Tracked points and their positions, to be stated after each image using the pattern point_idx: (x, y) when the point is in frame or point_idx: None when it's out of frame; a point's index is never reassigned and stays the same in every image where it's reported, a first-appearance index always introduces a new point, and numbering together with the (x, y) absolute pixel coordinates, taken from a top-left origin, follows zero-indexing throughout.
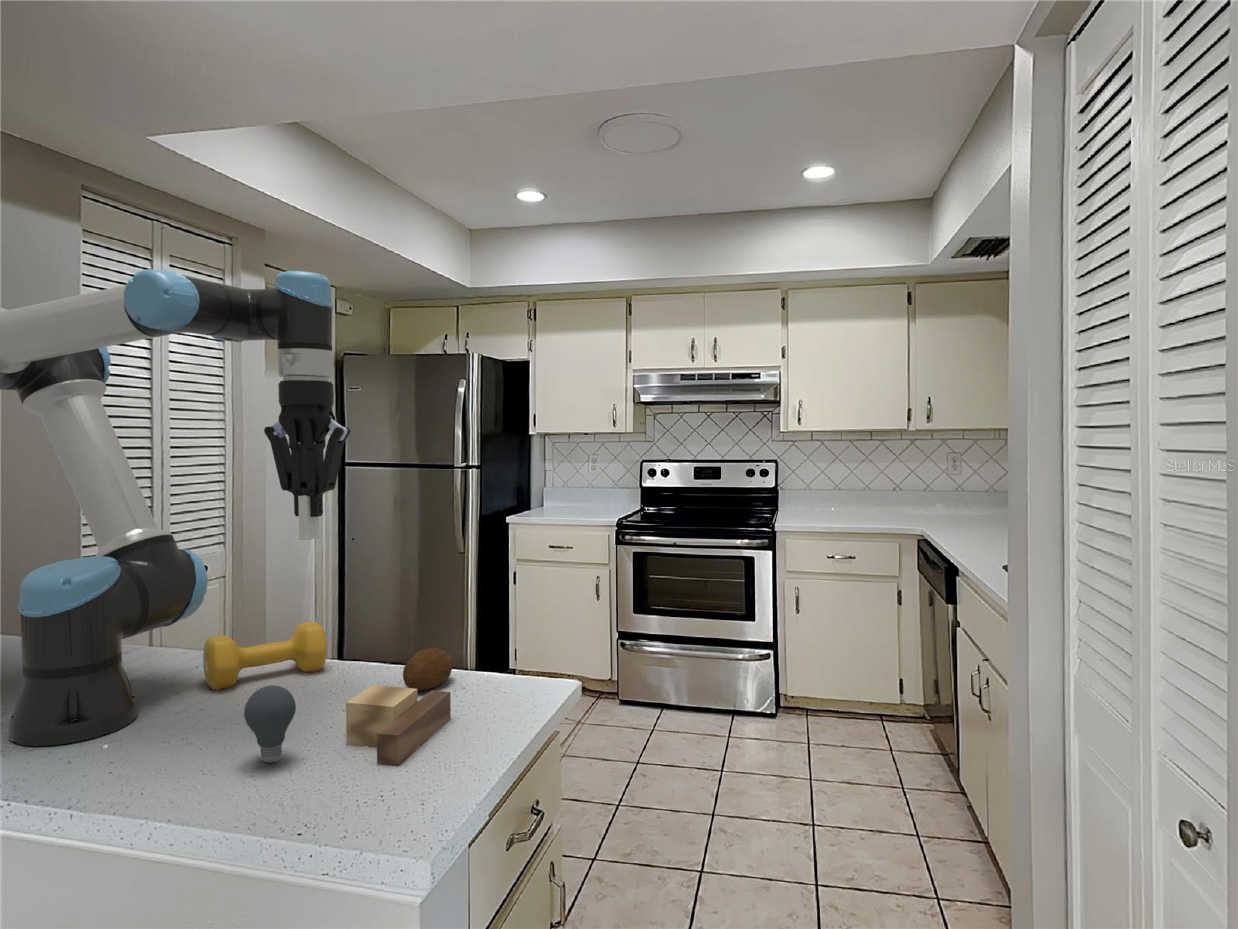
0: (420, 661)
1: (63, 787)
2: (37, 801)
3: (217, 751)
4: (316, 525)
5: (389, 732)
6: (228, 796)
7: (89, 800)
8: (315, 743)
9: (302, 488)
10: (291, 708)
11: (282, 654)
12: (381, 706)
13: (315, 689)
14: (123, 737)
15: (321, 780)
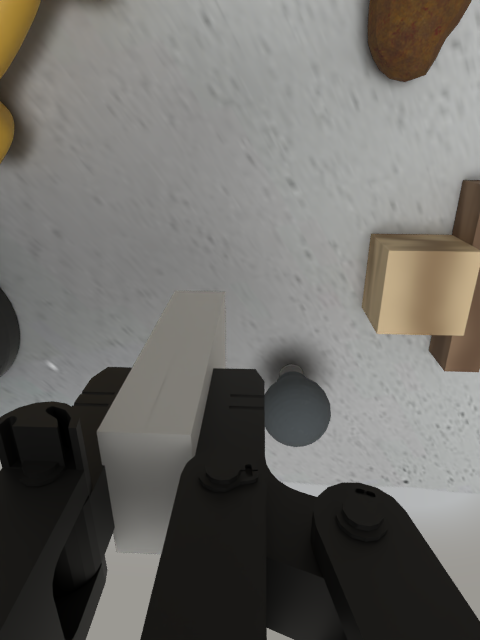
0: (427, 39)
1: None
2: None
3: None
4: (219, 337)
5: (462, 366)
6: None
7: None
8: (315, 311)
9: (82, 559)
10: (330, 413)
11: (32, 15)
12: (441, 334)
13: (177, 90)
14: (47, 341)
15: (376, 396)
